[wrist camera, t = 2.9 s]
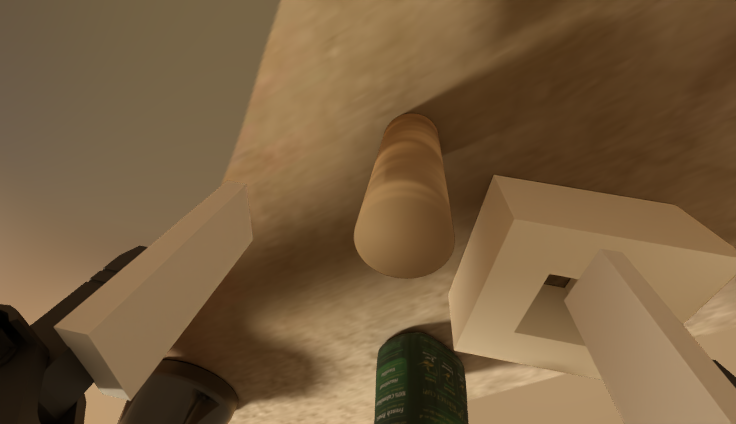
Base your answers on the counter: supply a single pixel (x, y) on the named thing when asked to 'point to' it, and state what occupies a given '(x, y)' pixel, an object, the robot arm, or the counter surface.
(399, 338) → the coffee jar
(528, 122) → the counter surface
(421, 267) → the dowel
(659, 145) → the counter surface
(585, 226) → the socket block
